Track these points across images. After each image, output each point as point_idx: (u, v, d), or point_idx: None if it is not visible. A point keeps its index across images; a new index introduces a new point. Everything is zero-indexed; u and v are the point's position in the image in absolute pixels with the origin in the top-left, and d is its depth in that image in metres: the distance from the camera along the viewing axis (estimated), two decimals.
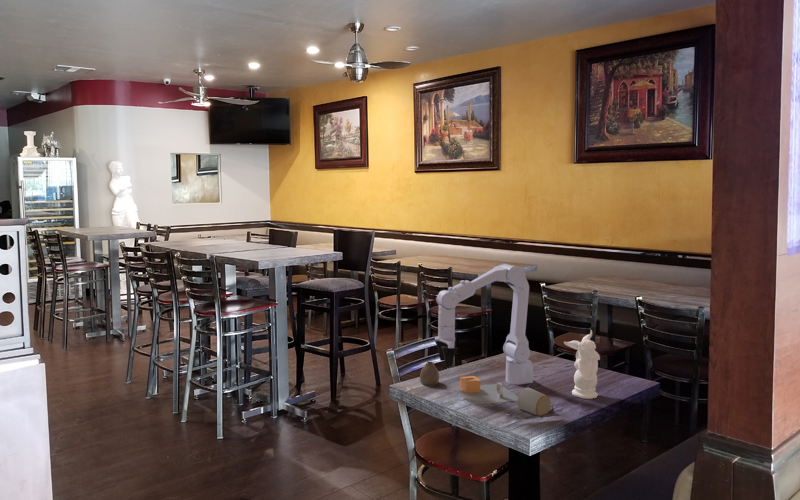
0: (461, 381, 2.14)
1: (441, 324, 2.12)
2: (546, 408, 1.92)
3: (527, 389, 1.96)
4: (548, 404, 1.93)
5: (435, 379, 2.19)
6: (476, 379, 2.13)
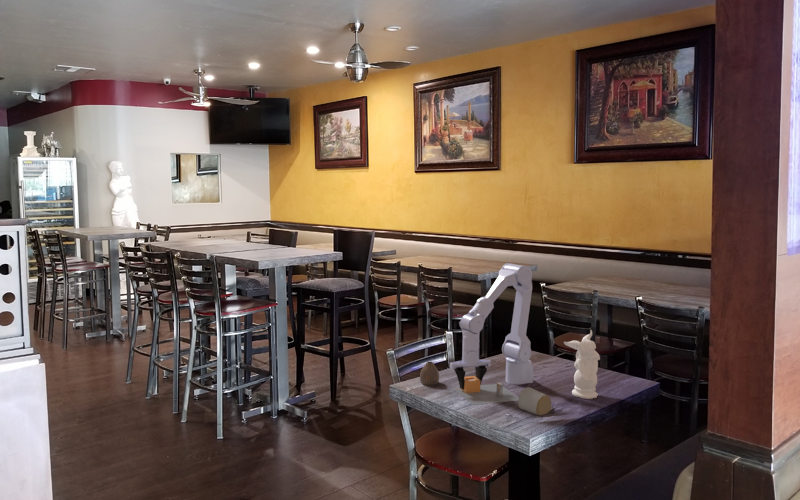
0: None
1: (467, 349, 2.10)
2: (546, 408, 1.92)
3: (528, 389, 1.96)
4: (549, 404, 1.93)
5: (435, 379, 2.19)
6: (476, 379, 2.13)
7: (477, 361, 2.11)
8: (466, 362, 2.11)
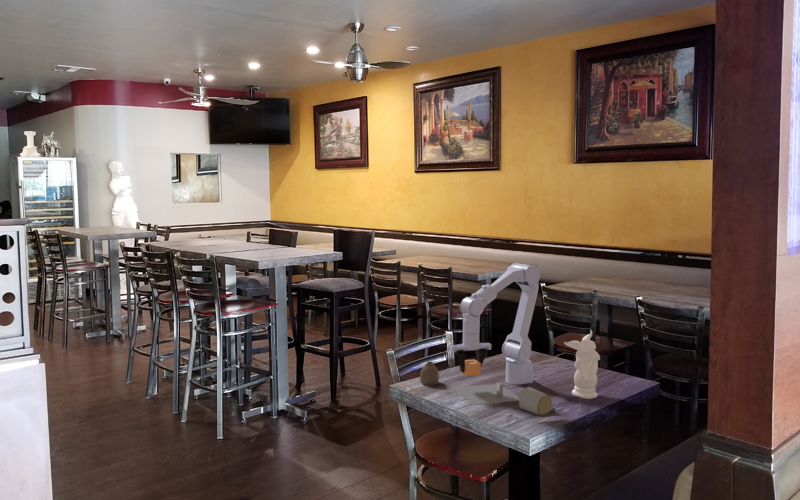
0: None
1: (467, 332, 2.10)
2: (547, 407, 1.93)
3: (528, 389, 1.96)
4: (549, 404, 1.93)
5: (435, 379, 2.19)
6: (476, 362, 2.12)
7: (477, 344, 2.11)
8: (466, 345, 2.10)
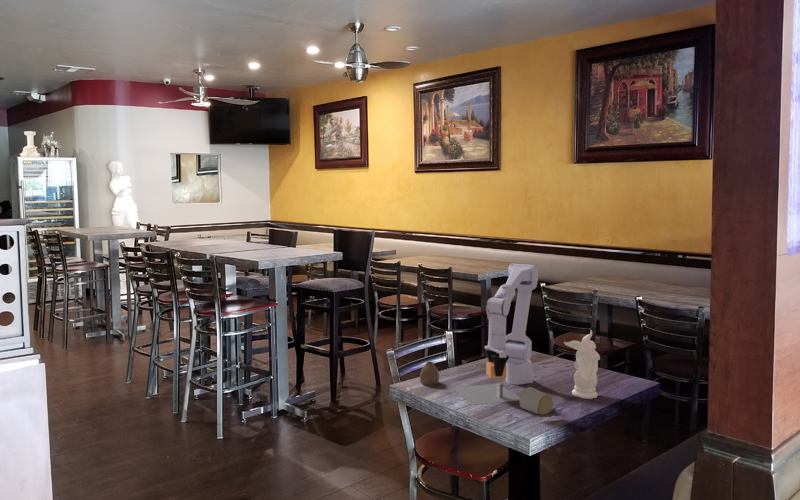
0: None
1: (498, 333, 2.03)
2: (548, 407, 1.93)
3: (529, 388, 1.96)
4: (550, 403, 1.93)
5: (435, 379, 2.19)
6: None
7: None
8: (503, 346, 2.05)
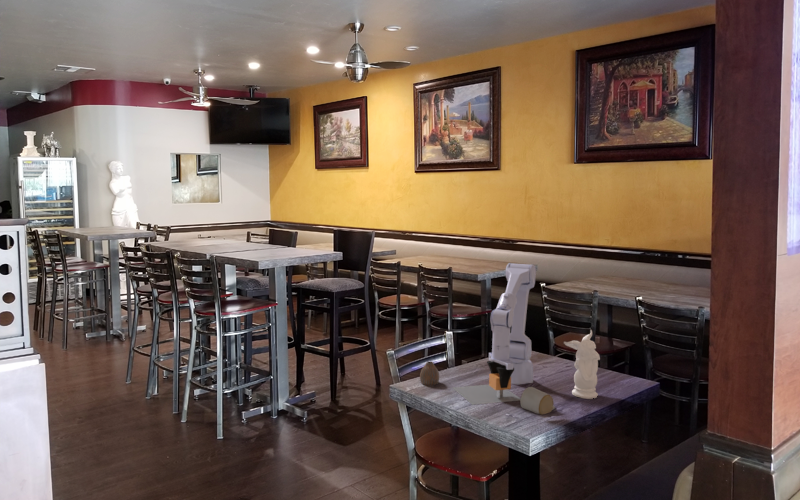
0: None
1: (503, 345, 2.03)
2: (549, 407, 1.93)
3: (530, 388, 1.97)
4: (551, 403, 1.93)
5: (435, 379, 2.19)
6: None
7: None
8: (508, 358, 2.05)
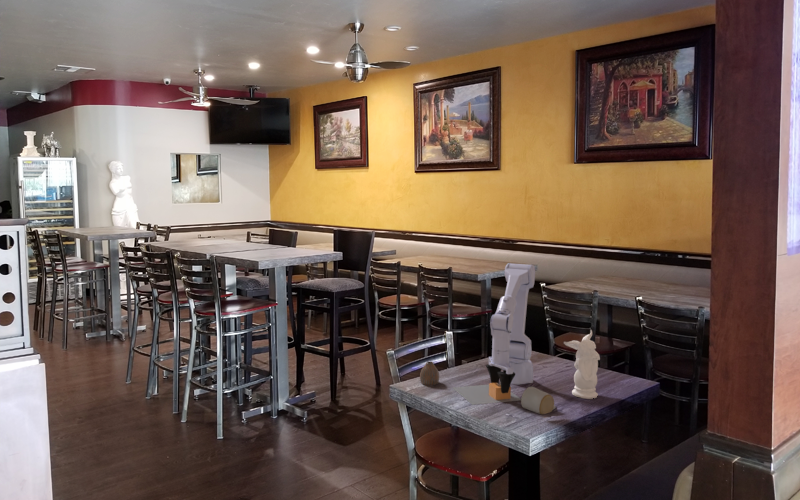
0: (500, 390, 2.04)
1: (502, 349, 2.03)
2: (549, 407, 1.93)
3: (531, 388, 1.97)
4: (552, 403, 1.94)
5: (435, 379, 2.19)
6: None
7: None
8: (508, 362, 2.05)
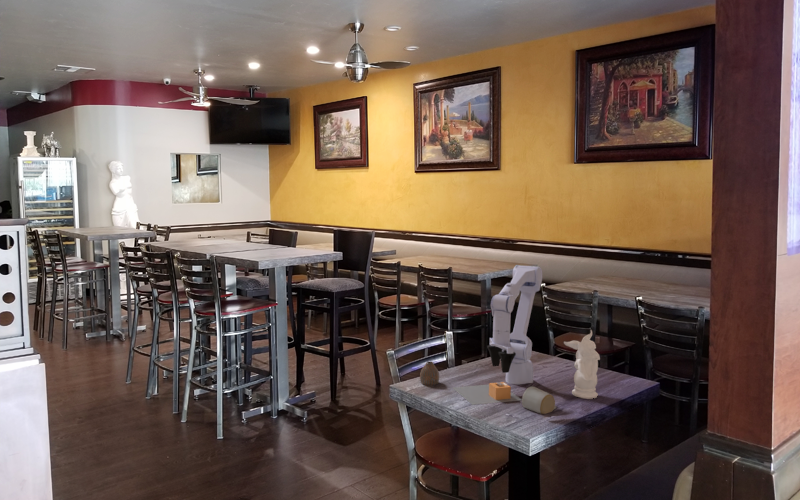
0: (500, 390, 2.04)
1: (502, 329, 2.07)
2: (550, 407, 1.93)
3: (532, 388, 1.97)
4: (552, 403, 1.94)
5: (435, 379, 2.19)
6: None
7: None
8: (508, 342, 2.09)
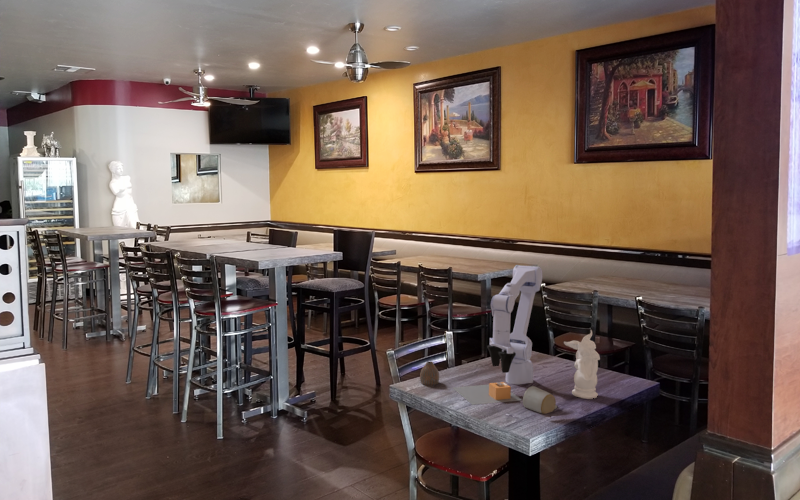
0: (500, 390, 2.04)
1: (502, 329, 2.07)
2: (551, 406, 1.94)
3: (532, 388, 1.97)
4: (553, 402, 1.94)
5: (435, 379, 2.19)
6: None
7: None
8: (508, 342, 2.09)
